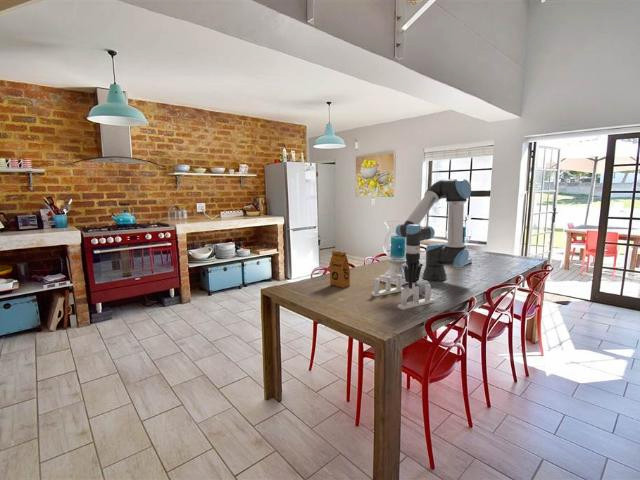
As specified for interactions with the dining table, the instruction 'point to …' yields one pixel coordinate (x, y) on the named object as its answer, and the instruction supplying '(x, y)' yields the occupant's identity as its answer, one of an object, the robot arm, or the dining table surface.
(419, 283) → the ceramic mug
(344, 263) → the coffee package
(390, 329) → the dining table surface
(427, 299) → the rack
